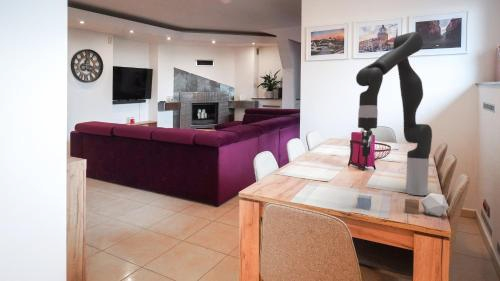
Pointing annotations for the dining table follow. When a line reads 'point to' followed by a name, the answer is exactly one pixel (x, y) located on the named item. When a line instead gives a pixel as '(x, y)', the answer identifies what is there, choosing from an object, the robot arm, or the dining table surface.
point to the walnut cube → (412, 206)
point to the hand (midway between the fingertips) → (366, 155)
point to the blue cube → (364, 202)
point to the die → (435, 204)
